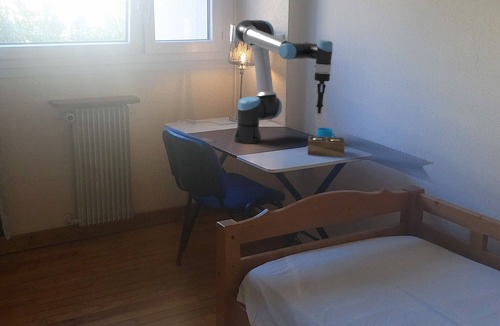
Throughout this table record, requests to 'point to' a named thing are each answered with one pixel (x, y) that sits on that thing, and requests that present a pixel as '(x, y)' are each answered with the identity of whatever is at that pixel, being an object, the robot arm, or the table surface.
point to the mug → (325, 132)
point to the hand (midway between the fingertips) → (318, 119)
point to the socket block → (326, 146)
